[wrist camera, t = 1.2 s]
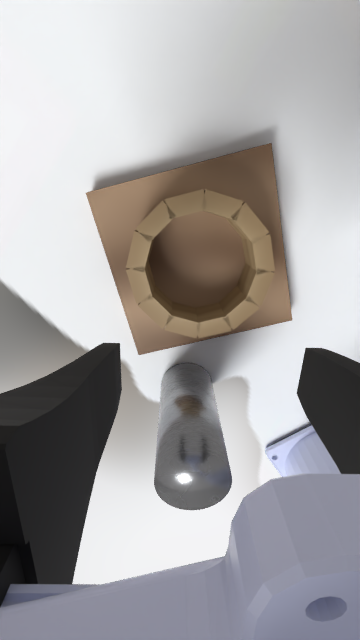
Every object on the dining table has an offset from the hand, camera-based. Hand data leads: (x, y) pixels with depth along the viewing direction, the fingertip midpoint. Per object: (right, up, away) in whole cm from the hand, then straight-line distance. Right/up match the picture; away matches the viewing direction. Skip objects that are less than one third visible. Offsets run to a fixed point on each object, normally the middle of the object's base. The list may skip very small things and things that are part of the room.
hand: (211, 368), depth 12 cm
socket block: (0, +6, +9) cm, 11 cm away
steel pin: (-1, -3, +12) cm, 13 cm away
